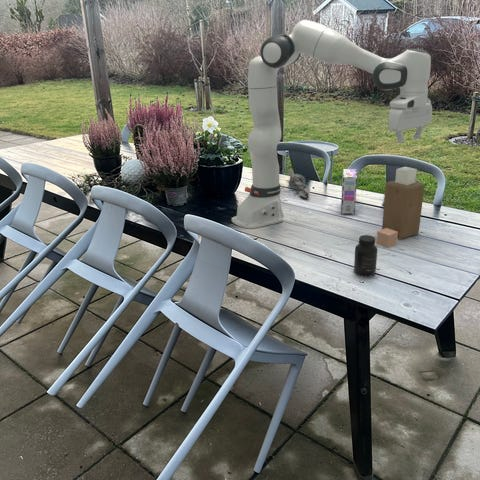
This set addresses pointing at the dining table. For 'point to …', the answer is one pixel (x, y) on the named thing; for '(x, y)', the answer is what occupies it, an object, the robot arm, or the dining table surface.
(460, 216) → the dining table surface
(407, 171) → the cream cube
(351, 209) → the candy box
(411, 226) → the wooden block
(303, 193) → the spaceship
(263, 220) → the robot arm
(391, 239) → the peach cube
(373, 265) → the supplement bottle
